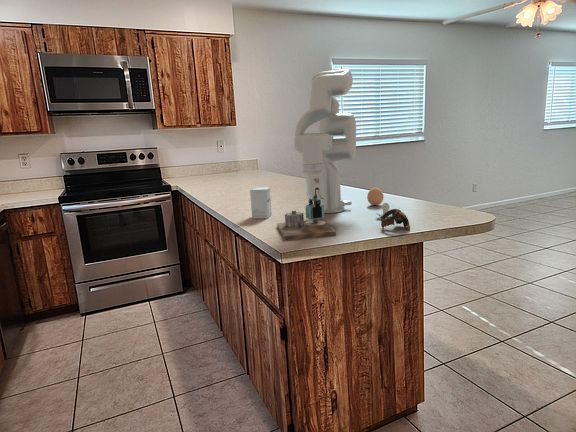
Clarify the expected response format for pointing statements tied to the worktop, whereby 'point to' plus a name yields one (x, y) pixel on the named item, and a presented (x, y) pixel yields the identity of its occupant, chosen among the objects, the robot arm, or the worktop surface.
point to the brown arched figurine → (394, 218)
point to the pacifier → (384, 210)
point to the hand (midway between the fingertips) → (315, 215)
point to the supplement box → (260, 202)
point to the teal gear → (310, 211)
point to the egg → (375, 196)
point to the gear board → (303, 227)
